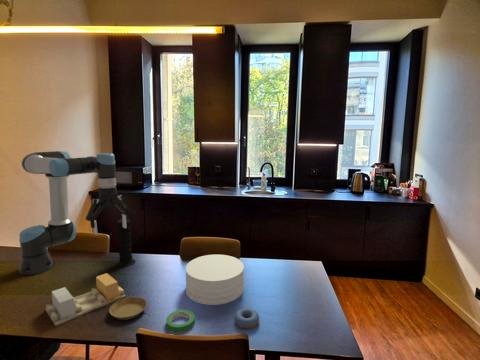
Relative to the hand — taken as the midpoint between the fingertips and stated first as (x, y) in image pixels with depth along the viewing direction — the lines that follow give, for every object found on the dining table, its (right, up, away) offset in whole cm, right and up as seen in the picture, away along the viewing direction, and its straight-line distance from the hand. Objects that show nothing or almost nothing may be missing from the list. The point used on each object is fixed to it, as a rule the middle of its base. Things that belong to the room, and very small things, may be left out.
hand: (110, 230), depth 134 cm
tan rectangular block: (0, -29, -3) cm, 29 cm away
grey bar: (-13, -31, -15) cm, 36 cm away
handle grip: (-5, -24, +31) cm, 40 cm away
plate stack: (+49, -29, +4) cm, 57 cm away
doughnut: (+64, -33, -21) cm, 75 cm away
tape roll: (+38, -33, -22) cm, 55 cm away
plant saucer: (+14, -32, -15) cm, 38 cm away
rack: (-6, -30, -9) cm, 32 cm away
